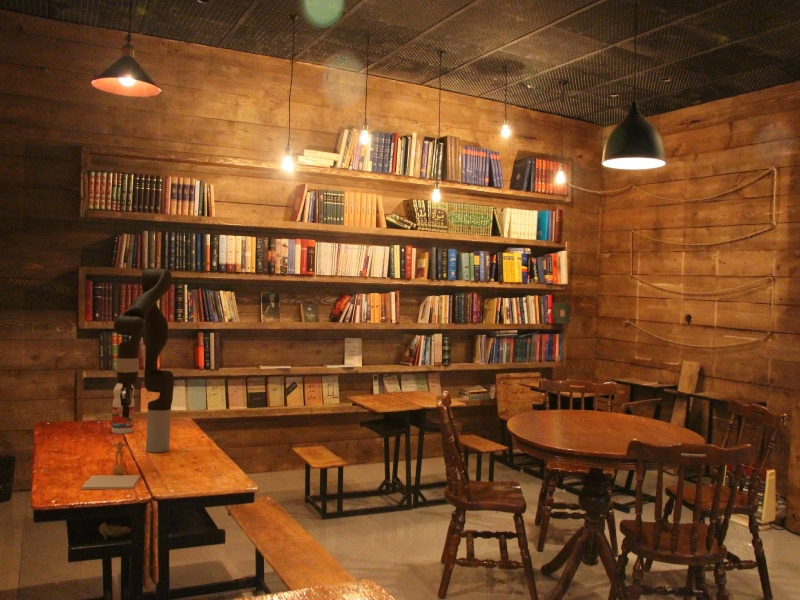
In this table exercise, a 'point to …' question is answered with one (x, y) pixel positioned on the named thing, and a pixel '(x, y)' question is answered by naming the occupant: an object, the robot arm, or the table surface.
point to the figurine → (118, 468)
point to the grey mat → (111, 482)
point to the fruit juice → (119, 422)
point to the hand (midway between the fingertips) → (125, 416)
